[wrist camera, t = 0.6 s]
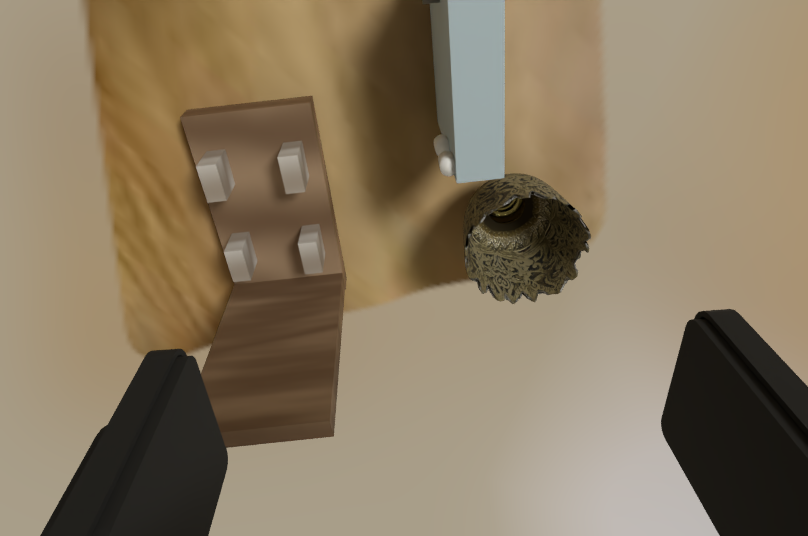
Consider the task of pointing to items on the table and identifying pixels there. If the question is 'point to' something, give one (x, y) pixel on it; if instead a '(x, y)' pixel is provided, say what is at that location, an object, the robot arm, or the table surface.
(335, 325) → the cabinet base
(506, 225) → the cup
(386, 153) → the table surface
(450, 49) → the door
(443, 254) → the table surface
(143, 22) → the table surface
